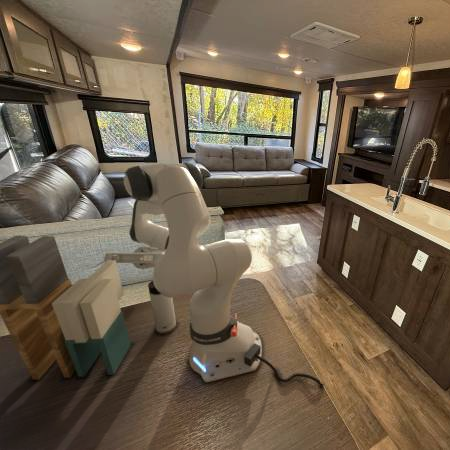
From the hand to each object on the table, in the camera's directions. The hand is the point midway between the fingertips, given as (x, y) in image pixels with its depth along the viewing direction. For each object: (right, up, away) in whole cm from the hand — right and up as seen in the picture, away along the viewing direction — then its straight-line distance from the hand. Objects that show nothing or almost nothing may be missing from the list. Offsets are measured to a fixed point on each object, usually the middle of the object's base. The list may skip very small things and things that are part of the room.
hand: (127, 258), depth 84 cm
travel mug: (+12, -25, +3) cm, 28 cm away
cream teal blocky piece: (+1, -29, -10) cm, 31 cm away
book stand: (-10, -29, -12) cm, 33 cm away
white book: (+2, -15, -12) cm, 20 cm away
